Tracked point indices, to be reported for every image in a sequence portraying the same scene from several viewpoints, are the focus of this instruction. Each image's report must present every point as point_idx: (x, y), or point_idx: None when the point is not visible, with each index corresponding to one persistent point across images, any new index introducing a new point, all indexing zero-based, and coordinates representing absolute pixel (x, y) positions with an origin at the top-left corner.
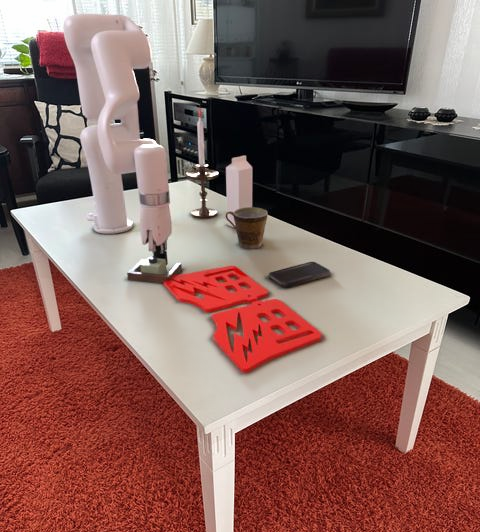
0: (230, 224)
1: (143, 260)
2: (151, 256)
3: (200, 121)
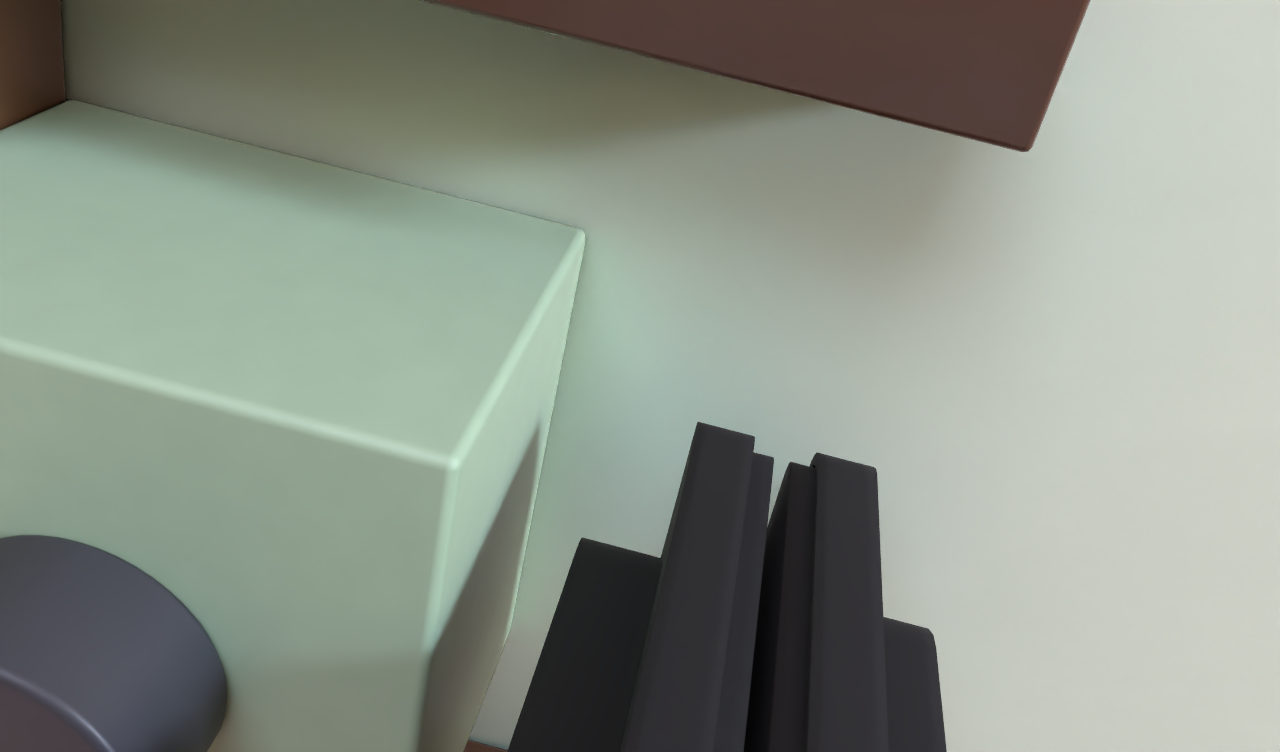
0: None
1: (910, 66)
2: (75, 745)
3: None
